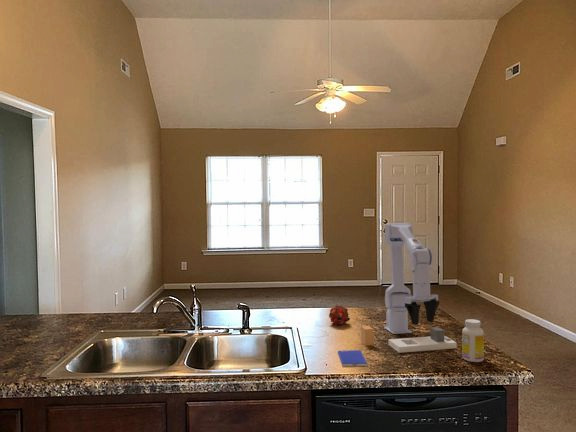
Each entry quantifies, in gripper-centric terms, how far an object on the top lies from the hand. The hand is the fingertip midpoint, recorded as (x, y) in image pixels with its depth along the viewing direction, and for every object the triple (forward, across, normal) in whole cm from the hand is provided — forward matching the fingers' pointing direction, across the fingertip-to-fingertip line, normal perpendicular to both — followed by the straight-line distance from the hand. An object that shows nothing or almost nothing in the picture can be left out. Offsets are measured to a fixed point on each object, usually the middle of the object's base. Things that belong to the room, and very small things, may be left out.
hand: (422, 322), depth 157 cm
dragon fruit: (+7, 0, +46) cm, 47 cm away
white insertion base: (+10, +6, +6) cm, 13 cm away
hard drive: (+12, -24, +10) cm, 28 cm away
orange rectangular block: (+10, -8, +20) cm, 23 cm away
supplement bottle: (+11, +9, -13) cm, 19 cm away
